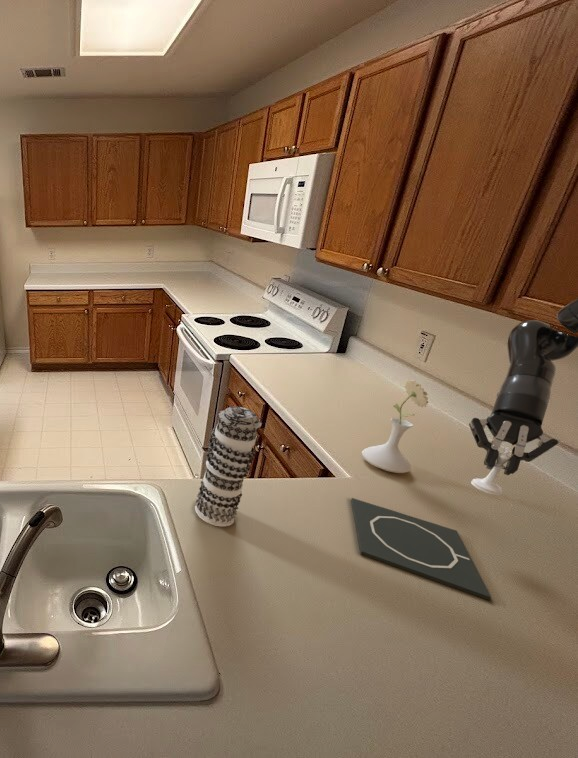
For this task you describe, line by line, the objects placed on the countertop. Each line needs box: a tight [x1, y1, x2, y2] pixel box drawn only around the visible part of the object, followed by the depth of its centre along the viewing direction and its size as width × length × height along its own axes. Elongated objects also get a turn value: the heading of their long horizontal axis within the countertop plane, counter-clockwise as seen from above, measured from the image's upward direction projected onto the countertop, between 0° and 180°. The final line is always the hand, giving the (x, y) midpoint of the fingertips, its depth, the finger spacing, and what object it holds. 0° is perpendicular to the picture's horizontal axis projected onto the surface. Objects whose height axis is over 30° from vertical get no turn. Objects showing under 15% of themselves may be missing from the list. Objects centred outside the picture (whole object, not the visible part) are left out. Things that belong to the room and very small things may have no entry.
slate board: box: [350, 497, 492, 601], centre depth 86 cm, size 20×20×1 cm
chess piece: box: [470, 446, 511, 496], centre depth 86 cm, size 5×5×10 cm
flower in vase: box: [361, 379, 429, 474], centre depth 112 cm, size 13×11×25 cm
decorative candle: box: [194, 406, 263, 528], centre depth 86 cm, size 9×9×25 cm
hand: (499, 470), depth 84 cm, fingers closed on chess piece
